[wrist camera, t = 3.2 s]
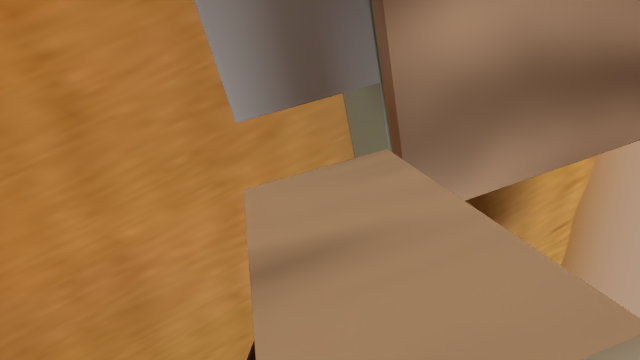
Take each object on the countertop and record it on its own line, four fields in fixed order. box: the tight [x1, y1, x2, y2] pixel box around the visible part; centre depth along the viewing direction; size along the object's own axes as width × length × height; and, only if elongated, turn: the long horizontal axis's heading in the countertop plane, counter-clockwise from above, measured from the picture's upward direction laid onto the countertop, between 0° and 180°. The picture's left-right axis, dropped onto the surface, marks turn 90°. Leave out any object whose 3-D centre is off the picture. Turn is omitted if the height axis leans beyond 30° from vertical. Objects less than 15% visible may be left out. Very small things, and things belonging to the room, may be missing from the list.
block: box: [244, 149, 640, 360], centre depth 7 cm, size 6×4×6 cm, turn 12°
